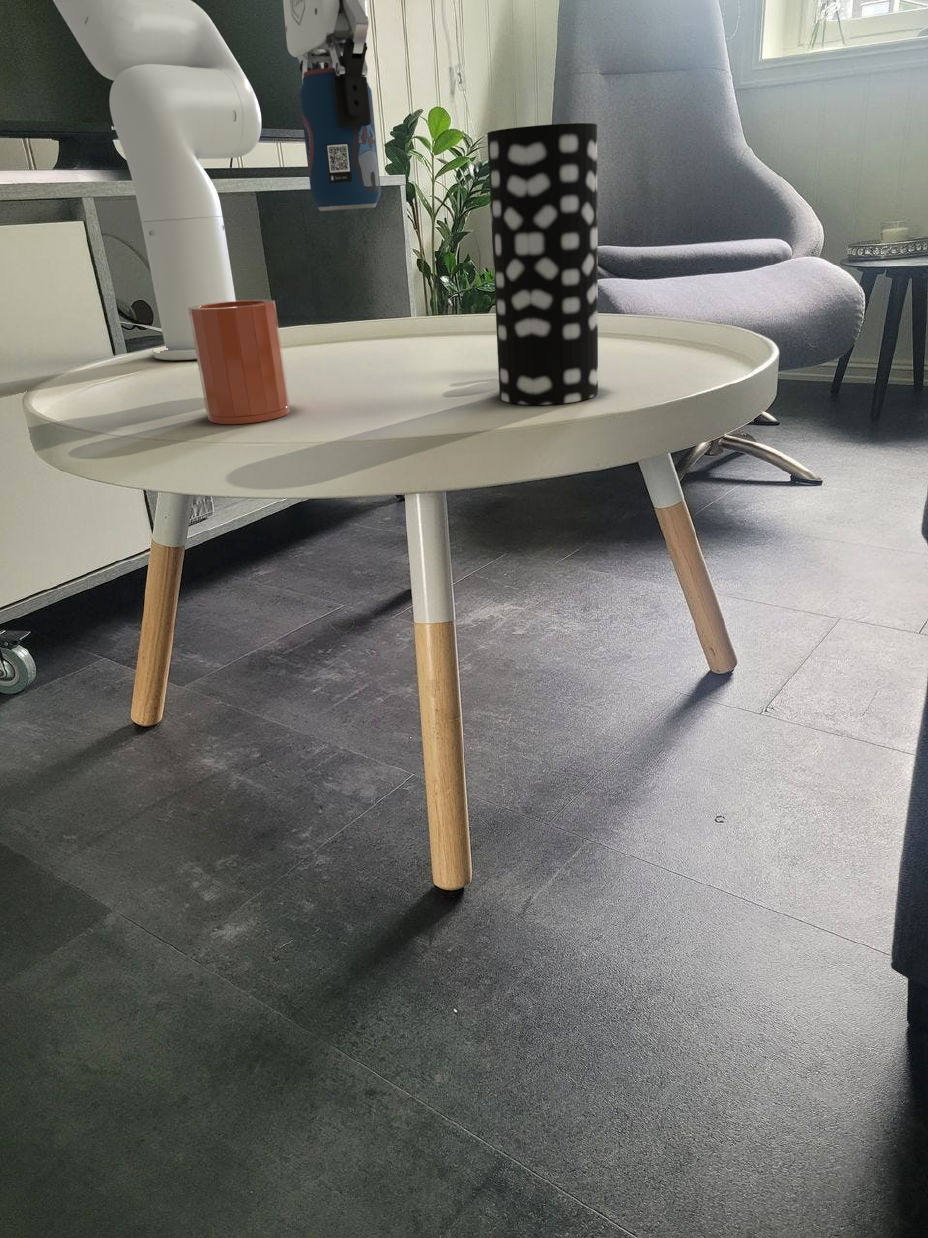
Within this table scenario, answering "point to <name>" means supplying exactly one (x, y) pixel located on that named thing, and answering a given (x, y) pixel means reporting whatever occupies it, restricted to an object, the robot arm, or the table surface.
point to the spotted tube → (545, 261)
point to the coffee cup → (240, 361)
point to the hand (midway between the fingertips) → (339, 128)
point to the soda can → (337, 149)
